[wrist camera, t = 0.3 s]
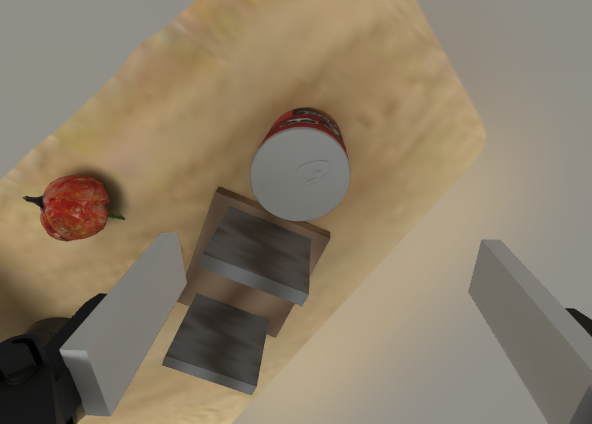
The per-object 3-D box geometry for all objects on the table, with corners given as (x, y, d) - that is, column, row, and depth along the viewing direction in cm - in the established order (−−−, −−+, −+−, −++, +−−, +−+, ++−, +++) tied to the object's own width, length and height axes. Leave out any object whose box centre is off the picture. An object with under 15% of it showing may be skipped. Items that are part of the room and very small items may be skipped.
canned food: (356, 144, 36) (371, 179, 26) (302, 191, 39) (297, 240, 29) (307, 88, 34) (302, 104, 24) (253, 143, 37) (229, 177, 27)
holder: (180, 294, 46) (141, 364, 36) (218, 186, 39) (183, 235, 29) (276, 329, 48) (265, 406, 38) (329, 232, 41) (333, 294, 31)
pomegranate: (141, 182, 42) (50, 146, 34) (142, 233, 38) (42, 206, 31) (106, 210, 45) (15, 183, 37) (104, 261, 41) (3, 242, 34)
